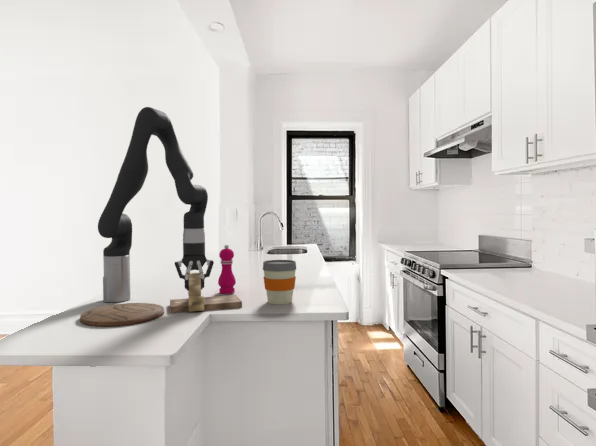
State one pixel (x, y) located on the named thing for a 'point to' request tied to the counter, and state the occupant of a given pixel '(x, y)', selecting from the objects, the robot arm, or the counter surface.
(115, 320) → the trivet
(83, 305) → the counter surface
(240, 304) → the walnut board
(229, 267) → the pepper mill
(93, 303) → the counter surface
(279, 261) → the reusable coffee cup
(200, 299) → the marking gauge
